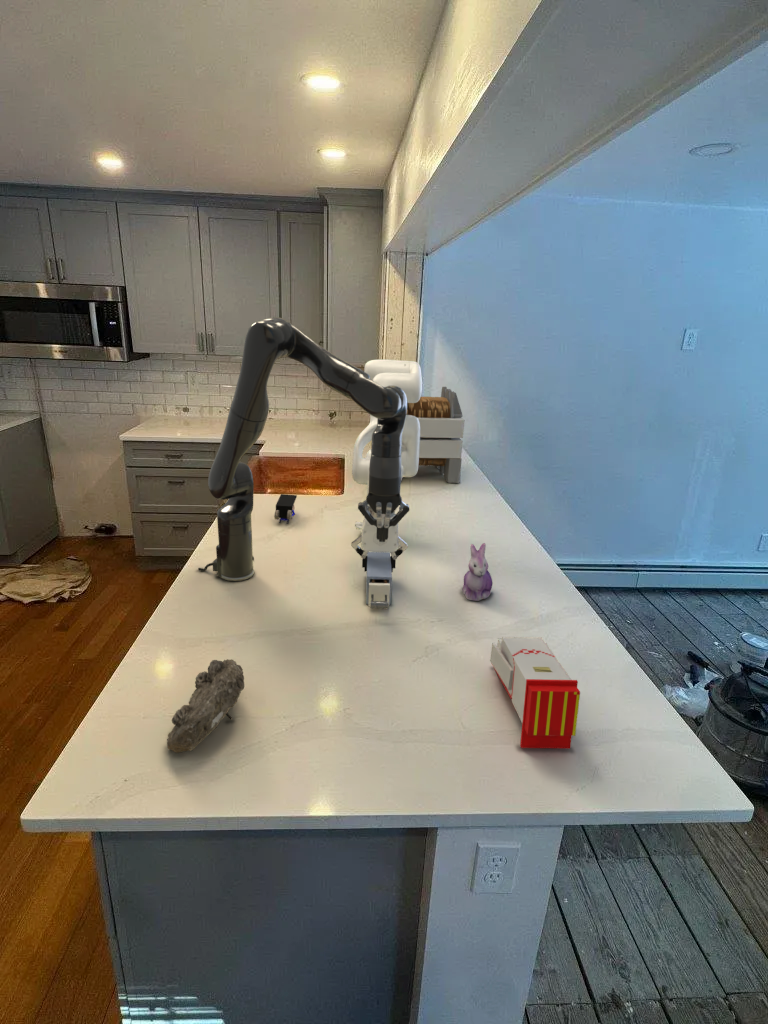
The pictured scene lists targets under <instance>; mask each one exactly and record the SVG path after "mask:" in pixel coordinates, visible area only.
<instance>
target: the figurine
mask: <svg viewBox="0 0 768 1024" xmlns="http://www.w3.org/2000/svg"><path fill="white" fill-rule="evenodd" d="M486 548H487V544H486V543H485V542H483V543H482V544H481V545H480V547H479V549H477V547H476V545H475V544H474V543H470V546H469V551H470V559H469V561H468V564H467V565H468V566H467V567H468V571H466V573H465V574H464V575H463V586H462V593H463V595H464V596H465V598H466V599H467V600H469V601H475V602H479V601H482V600H486V599H488V598H489V596H490V595H491V592H492V588H493V578H492V576H491V575H492V574H491V573H490V571H489V562H488V559H486V555H485V554H486Z"/></svg>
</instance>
